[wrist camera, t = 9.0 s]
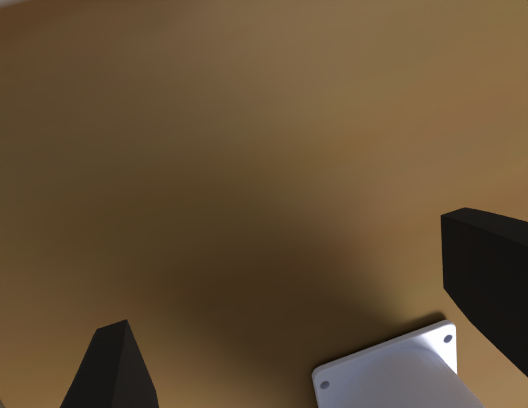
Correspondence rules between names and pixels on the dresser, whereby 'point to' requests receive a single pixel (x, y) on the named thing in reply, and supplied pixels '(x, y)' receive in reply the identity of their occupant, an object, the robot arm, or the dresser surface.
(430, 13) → the dresser surface
